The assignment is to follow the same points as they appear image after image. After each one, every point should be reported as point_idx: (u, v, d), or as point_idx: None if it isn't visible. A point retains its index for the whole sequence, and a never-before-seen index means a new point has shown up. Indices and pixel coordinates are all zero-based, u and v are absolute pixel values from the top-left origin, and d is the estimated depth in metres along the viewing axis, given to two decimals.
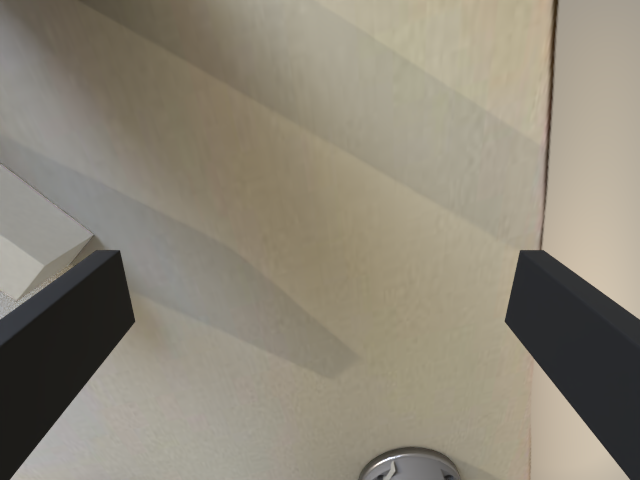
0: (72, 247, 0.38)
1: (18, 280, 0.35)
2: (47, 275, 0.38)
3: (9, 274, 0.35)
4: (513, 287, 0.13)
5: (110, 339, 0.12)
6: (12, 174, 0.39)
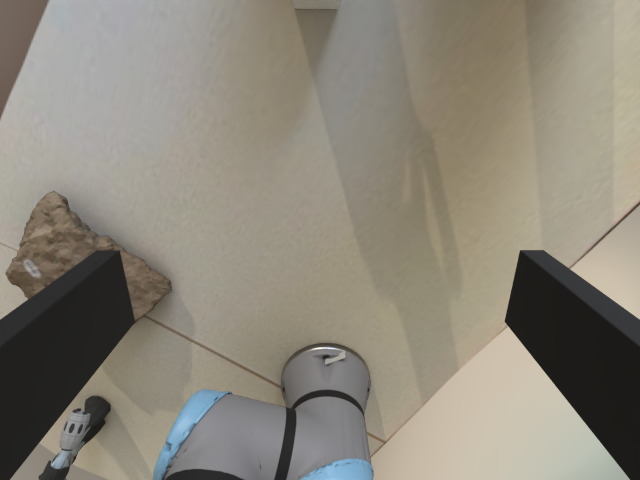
0: None
1: None
2: None
3: None
4: (513, 288, 0.13)
5: (111, 339, 0.12)
6: None
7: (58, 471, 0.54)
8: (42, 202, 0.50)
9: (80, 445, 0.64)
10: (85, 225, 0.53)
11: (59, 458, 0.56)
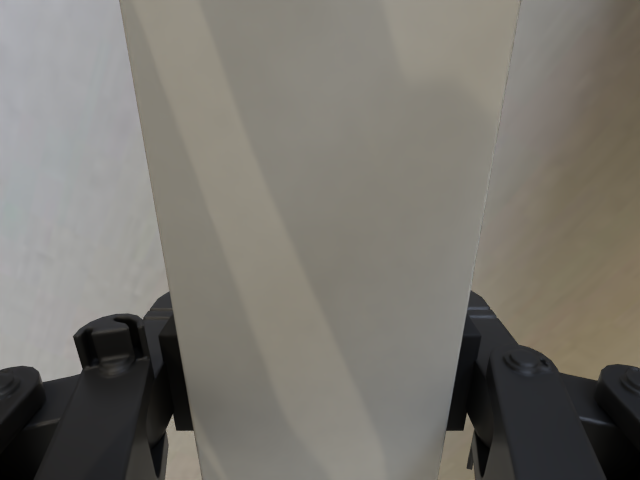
0: None
1: None
2: None
3: (300, 468, 0.08)
4: None
5: None
6: None
7: None
8: None
9: None
10: None
11: None
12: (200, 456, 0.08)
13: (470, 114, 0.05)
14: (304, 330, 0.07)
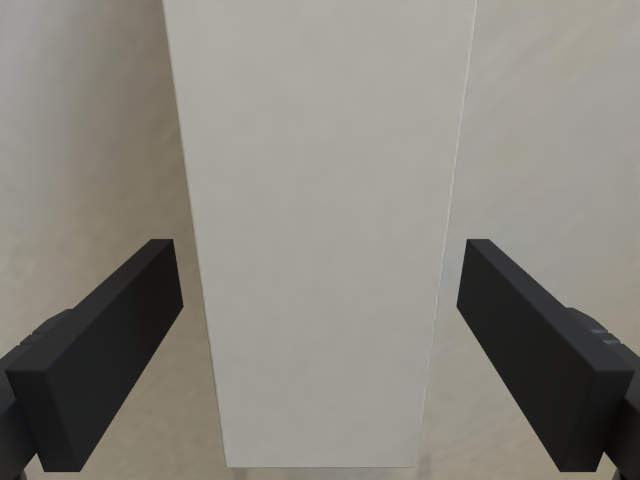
0: None
1: (305, 442, 0.10)
2: None
3: (304, 418, 0.10)
4: (462, 274, 0.13)
5: (166, 320, 0.12)
6: None
7: None
8: None
9: None
10: None
11: None
12: (219, 406, 0.10)
13: (438, 116, 0.07)
14: (307, 294, 0.08)
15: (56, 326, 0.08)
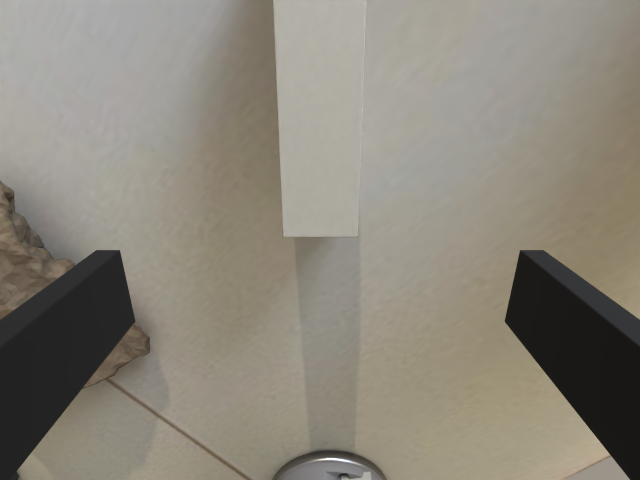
0: None
1: (314, 224, 0.26)
2: None
3: (314, 212, 0.26)
4: (513, 288, 0.13)
5: (110, 338, 0.12)
6: None
7: None
8: None
9: None
10: (35, 236, 0.34)
11: None
12: (282, 206, 0.26)
13: (355, 97, 0.23)
14: (315, 158, 0.25)
15: None
